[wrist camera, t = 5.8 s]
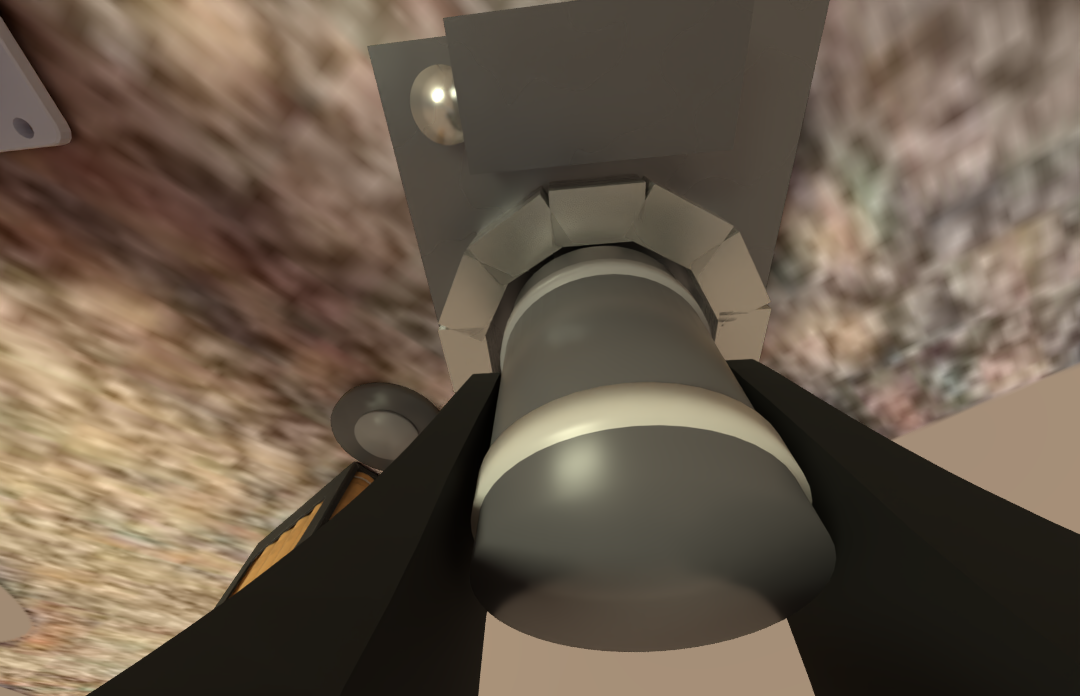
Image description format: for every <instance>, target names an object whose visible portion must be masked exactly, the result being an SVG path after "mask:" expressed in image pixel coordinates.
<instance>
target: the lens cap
mask: <svg viewBox="0 0 1080 696" xmlns="http://www.w3.org/2000/svg"><path fill="white" fill-rule="evenodd" d="M438 413H439V411H438V409H437V408H436V407H435V406H434V405H433V404H432V403H431V402H430V401H429V400H427V399H426V398H425V397H423V396H422V395H420V394H419V393H417V392H415V391H413V390H411V389H408V388H406V387H403V386H399V385H395V384H390V383H367V384H363V385H360V386H357V387H354V388H353V389H351V390H349V391H348V392H347V393H345V394H344V395H343V396H342V398H341V399H340V400H339V401H338V403H337V404H336V406H335V407H334V409H333V412H332V415H331V427H332V431H333V434H334V436H335V438H336V440H337V441H338V443H339V444H340V445H341V447H342V448H343V449H344V450H345V451H346V452H347V453H349V454H350V455H351V456H352V457H354V458H355V459H356V460H358V461H360V462H362V463H363V464H365V465H368V466H370V467H372V468H375V469H378V470H382V471H384V470H385V469H386V468H387V467H388V466H389V465H390V464H391V463H392V462H393V461H394V460H395V459H396V458H397V457H398V456H399V455H400V454H401V453H402V452H403V451H404V450H405V449H406V448H407V447H408V446H409V445H410V444H411V443H412V442H413V441H414V440H415V438H416V437H417V436H418V435H419V434H420V433H421V432H422V431H423V430H424V429H425V427H426V426H427V425H428V424H429V423H430V422H431V421H432V420H433V419H434V418H435V416H436V415H437V414H438Z"/></svg>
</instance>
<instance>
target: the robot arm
mask: <svg viewBox="0 0 1080 696" xmlns="http://www.w3.org/2000/svg"><path fill="white" fill-rule="evenodd" d="M30 126H31V127H32V129H33V130H32V129H31V127H30ZM71 139H72V136H71V130H70V128H69V126H68V124H67V122H66V120H65V119H64V117H63V116H62V114H61V112H60V111H59V109H58V108H57V106H56V104H55V103H54V101H53V100H52V98H51V96H50V95H49V93H48V92H47V90H46V88H45V87H44V85H43V84H42V82H41V80H40V79H39V77H38V76H37V74H36V72H35V71H34V69H33V68H32V66H31V64H30V63H29V61H28V59H27V58H26V56H25V55H24V53H23V51H22V50H21V48H20V47H19V45H18V43H17V42H16V40H15V39H14V37H13V35H12V34H11V32H10V31H9V29H8V27H7V26H6V24H5V23H4V21H3V19H2V18H1V16H0V152H7V151H16V150H24V149H33V148H42V147H51V146H60V145H66V144H68V143H70V141H71ZM725 361H726V362H727V364H728V366H729V367H730V369H731V371H732V372H733V374H734V376H735V377H736V379H737V381H738V382H739V384H740V386H741V387H742V389H743V391H744V392H745V394H746V396H747V397H748V399H749V401H750V403H751V404H752V406H753V408H754V409H755V411H756V412H758V413H759V414H760V415H761V416H762V417H764V418H765V419H766V420H767V421H768V422H769V423H770V424H771V425H772V426H773V428H774V429H775V430H776V431H777V433H778V434H779V435H780V437H781V438H782V440H783V442H784V443H785V445H786V446H787V448H788V450H789V451H790V453H791V454H792V456H793V458H794V459H795V461H796V462H797V464H798V466H799V467H800V469H801V470H802V472H803V474H804V476H805V478H806V480H807V482H808V484H809V486H810V491H811V496H812V506H813V508H814V509H815V511H816V513H817V515H818V516H819V518H820V520H821V521H822V523H823V525H824V526H825V528H826V530H827V531H828V533H829V535H830V537H831V539H832V541H833V543H834V545H835V552H836V563H835V569H834V572H833V574H832V576H831V578H830V580H829V582H828V583H827V585H826V586H825V587H824V589H823V590H822V591H821V593H819V594H818V595H817V596H816V597H815V598H814V599H813V600H812V601H811V602H810V603H809V604H807V605H806V606H804V607H803V608H802V609H800V610H799V611H798V612H796V613H794V614H792V615H791V616H789V617H787V620H788V623H789V625H790V628H791V631H792V634H793V636H794V639H795V642H796V644H797V647H798V650H799V653H800V655H801V658H802V660H803V663H804V666H805V668H806V672H807V674H808V677H809V680H810V682H811V685H812V688H813V691H814V694H815V696H1080V534H1078V533H1075V532H1073V531H1071V530H1069V529H1066V528H1064V527H1062V526H1060V525H1058V524H1055V523H1053V522H1051V521H1049V520H1047V519H1045V518H1042V517H1040V516H1038V515H1036V514H1034V513H1032V512H1030V511H1028V510H1026V509H1024V508H1022V507H1020V506H1017V505H1015V504H1013V503H1011V502H1009V501H1007V500H1005V499H1003V498H1001V497H999V496H997V495H995V494H993V493H991V492H989V491H986V490H984V489H982V488H980V487H978V486H976V485H974V484H972V483H970V482H968V481H966V480H964V479H962V478H960V477H958V476H956V475H954V474H952V473H950V472H948V471H946V470H945V469H943V468H941V467H939V466H937V465H935V464H933V463H931V462H930V461H928V460H926V459H924V458H922V457H921V456H919V455H917V454H915V453H913V452H911V451H909V450H908V449H906V448H904V447H902V446H900V445H898V444H897V443H895V442H893V441H891V440H889V439H888V438H886V437H884V436H882V435H881V434H879V433H877V432H875V431H874V430H872V429H870V428H868V427H867V426H865V425H863V424H861V423H860V422H858V421H856V420H855V419H853V418H851V417H850V416H848V415H846V414H844V413H843V412H841V411H839V410H838V409H836V408H834V407H833V406H831V405H829V404H828V403H826V402H825V401H823V400H821V399H820V398H818V397H816V396H815V395H813V394H811V393H810V392H808V391H807V390H805V389H803V388H802V387H800V386H798V385H797V384H795V383H793V382H792V381H790V380H789V379H787V378H785V377H784V376H782V375H780V374H779V373H777V372H775V371H774V370H772V369H770V368H769V367H767V366H765V365H763V364H761V363H760V362H758V361H756V360H754V359H740V360H725ZM500 382H501V372H499V373H480V374H472V375H471V376H470V377H469V379H468V380H467V381H466V382H465V383H464V384H463V385H462V386H461V388H460V389H459V390H458V391H457V392H456V393H455V394H454V396H453V397H452V398H451V399H450V400H449V401H448V403H447V404H446V405H445V406H444V407H443V408H442V410H441V411H440V412H439V413H438V414H437V415H436V416H435V418H434V419H433V420H432V421H431V422H430V423H429V424H428V425H427V426H426V427H425V429H424V430H423V431H422V432H421V433H420V434H419V435H418V436H417V437H416V438H415V440H414V441H413V442H412V443H411V444H410V445H409V446H408V447H407V448H406V449H405V450H404V451H403V452H402V453H401V454H400V455H399V456H398V457H397V458H396V459H395V460H394V461H393V462H392V463H391V464H390V465H389V466H388V467H387V468H386V469H385V470H384V471H383V472H382V473H381V474H380V475H379V476H378V477H377V478H376V479H375V480H374V481H373V482H372V483H371V484H370V485H369V486H368V487H367V488H365V489H364V490H363V491H362V492H361V493H360V494H359V495H358V496H357V497H356V498H354V499H353V500H352V501H351V502H350V503H349V504H348V505H346V506H345V507H344V508H343V509H342V510H341V511H339V512H338V513H337V514H336V515H335V516H334V517H332V518H331V519H330V520H329V521H328V522H327V523H325V524H324V525H323V526H322V527H321V528H320V529H318V530H317V531H316V532H315V533H314V534H312V535H311V536H310V537H309V538H307V539H306V540H305V541H303V542H302V543H301V544H300V545H298V546H297V547H296V548H294V549H293V550H292V551H290V552H289V553H288V554H287V555H285V556H284V557H283V558H281V559H280V560H279V561H278V562H276V563H275V564H274V565H272V566H271V567H270V568H268V569H267V570H266V571H265V572H263V573H262V574H261V575H259V576H258V577H257V578H255V579H254V580H253V581H252V582H250V583H249V584H248V585H246V586H245V587H244V588H242V589H241V590H240V591H238V592H237V593H236V594H234V595H233V596H232V597H230V598H229V599H227V600H226V601H225V602H223V603H222V604H220V605H219V606H218V607H216V608H215V609H213V610H212V611H211V612H209V613H208V614H206V615H205V616H203V617H202V618H201V619H199V620H198V621H196V622H195V623H194V624H192V625H191V626H189V627H188V628H186V629H185V630H184V631H182V632H181V633H179V634H178V635H176V636H175V637H173V638H172V639H170V640H169V641H167V642H166V643H164V644H163V645H162V646H160V647H159V648H157V649H156V650H154V651H153V652H151V653H150V654H148V655H147V656H145V657H144V658H142V659H141V660H140V661H138V662H137V663H135V664H134V665H132V666H131V667H129V668H128V669H126V670H125V671H123V672H121V673H120V674H118V675H117V676H115V677H114V678H112V679H111V680H109V681H108V682H106V683H105V684H103V685H102V686H100V687H99V688H97V689H96V690H94V691H92V692H91V693H89V694H88V695H86V696H478V692H479V681H480V671H481V661H482V651H483V641H484V632H485V622H486V614H487V610H486V609H485V608H484V607H483V606H482V605H481V604H480V603H479V601H478V600H477V598H476V597H475V595H474V593H473V590H472V588H471V585H470V577H469V572H470V566H471V560H472V553H473V547H474V541H475V540H474V537H473V534H472V530H471V514H472V508H473V502H474V497H475V491H476V486H477V480H478V474H479V470H480V467H481V464H482V462H483V459H484V457H485V455H486V453H487V452H488V450H489V449H490V443H491V437H492V431H493V425H494V419H495V413H496V407H497V401H498V394H499V388H500Z"/></svg>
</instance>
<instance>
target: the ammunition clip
mask: <svg viewBox="0 0 1080 696" xmlns="http://www.w3.org/2000/svg"><path fill="white" fill-rule="evenodd" d="M377 477H378V476H377V475H376V474H374V473H372V472H371V471H369V470H367V469H366V468H364V467H363V466H361V465H359V464H358V463H355V462H353V463H352V464H351V465H349V466H348V467H347V468H346V469H345V470H344V471H342V472H341V473H340V474H339V475H338V476H337V477H335V478H334V479H333V480H332V481H331V482H330V483H328V484H327V485H326V486H325V487H324V488H323V489H321V490H320V491H319V492H318V493H317V494H316V495H314V496H313V497H312V498H311V499H310V500H309V501H307V502H306V503H305V504H304V505H303V506H302V507H300V508H299V509H298V510H297V511H296V512H295V513H293V514H292V515H291V516H290V517H289V518H288V519H286V520H285V521H284V522H283V523H282V524H281V525H279V526H278V527H277V528H276V529H275V530H274V531H272V532H271V533H270V534H269V535H268V536H266V537H265V538H264V539H263V540H262V541H261V542H259V543H258V545H257V546H256V548H255V549H254V551H253V552H252V554H251V555H250V556H249V558H248V559H247V561H246V562H245V564H244V565H243V567H242V568H241V570H240V571H239V573H238V574H237V576H236V577H235V579H234V580H233V582H232V583H231V584H230V586H229V587H228V589H227V590H226V592H225V593H224V595H223V596H222V598H221V599H220V601H219V602H218V604H217V605H216V607H218V606H219V605H220V604H222V603H223V602H225V601H226V600H227V599H229V598H230V597H232V596H233V595H234V594H236V593H237V592H238V591H240V590H241V589H242V588H244V587H245V586H246V585H248V584H249V583H250V582H252V581H253V580H254V579H255V578H257V577H258V576H259V575H261V574H262V573H263V572H265V571H266V570H267V569H268V568H270V567H271V566H272V565H274V564H275V563H276V562H278V561H279V560H280V559H281V558H283V557H284V556H285V555H287V554H288V553H289V552H290V551H292V550H293V549H294V548H296V547H297V546H298V545H300V544H301V543H302V542H303V541H305V540H306V539H307V538H309V537H310V536H311V535H312V534H314V533H315V532H316V531H317V530H318V529H320V528H321V527H322V526H323V525H324V524H325V523H327V522H328V521H329V520H330V519H331V518H332V517H334V516H335V515H336V514H337V513H338V512H339V511H341V510H342V509H343V508H344V507H345V506H346V505H348V504H349V503H350V502H351V501H352V500H353V499H354V498H356V497H357V496H358V495H359V494H360V493H361V492H362V491H363V490H364V489H365V488H367V487H368V486H369V485H370V484H371V483H372V482H373V481H374V480H375V479H376V478H377ZM216 607H215V608H216ZM215 608H214V609H215Z"/></svg>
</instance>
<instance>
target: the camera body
mask: <svg viewBox="0 0 1080 696" xmlns="http://www.w3.org/2000/svg"><path fill="white" fill-rule="evenodd" d="M829 1H830V0H577V1H569V2H561V3H554V4H546V5H538V6H531V7H523V8H516V9H508V10H500V11H493V12H485V13H477V14H470V15H462V16H455V17H447V18H443V21H444V27H445V32H446V36H442V37H434V38H427V39H419V40H411V41H403V42H395V43H387V44H379V45H372V46H367V47H368V51H369V55H370V59H371V63H372V67H373V71H374V75H375V79H376V82H377V86H378V90H379V94H380V98H381V102H382V106H383V110H384V114H385V117H386V121H387V125H388V129H389V133H390V137H391V141H392V145H393V149H394V153H395V156H396V160H397V164H398V168H399V172H400V176H401V180H402V184H403V188H404V191H405V195H406V199H407V203H408V207H409V211H410V215H411V219H412V223H413V227H414V230H415V234H416V238H417V242H418V246H419V250H420V254H421V258H422V262H423V265H424V269H425V273H426V277H427V281H428V285H429V289H430V293H431V297H432V301H433V304H434V308H435V312H436V316H437V320H438V324H439V329H438V333H439V337H440V341H441V345H442V348H443V352H444V356H445V360H446V364H447V368H448V371H449V375H450V379H451V383H452V387H453V391H454V392H457V391H458V390H459V389H460V388H461V386H462V385H463V384H464V383H465V382H466V381H467V380H468V379H469V377H470V376H471V375H472V374H480V373H499V372H501V376H502V371H501V366H500V354H501V348H502V342H503V336H504V331H505V328H506V324H507V321H508V319H509V317H510V315H511V313H512V310H513V307H514V304H515V301H516V299H517V297H518V295H519V293H520V291H521V289H522V288H523V286H524V285H525V284H526V282H527V281H528V280H529V279H530V278H531V277H532V276H533V275H534V273H536V272H537V271H538V270H539V269H540V268H542V267H543V266H544V265H545V264H547V263H549V262H550V261H552V260H553V259H555V258H557V257H559V256H562V255H564V254H566V253H569V252H572V251H575V250H578V249H582V248H588V247H594V246H617V247H623V248H628V249H633V250H636V251H638V252H641V253H644V254H646V255H648V256H650V257H652V258H654V259H655V260H657V261H658V262H660V263H661V264H662V265H664V266H665V267H666V268H667V269H668V270H669V271H670V272H671V273H672V274H673V275H674V277H675V278H676V279H677V280H678V281H679V282H680V283H681V284H682V285H683V286H684V287H685V288H686V289H687V290H688V291H689V292H690V294H691V295H692V296H693V298H694V299H695V301H696V302H697V304H698V305H699V307H700V309H701V310H702V312H703V314H704V316H705V318H706V320H707V322H708V325H709V328H710V331H711V337H712V339H713V341H714V342H715V344H716V346H717V347H718V349H719V351H720V352H721V354H722V356H723V357H724V359H725V360H740V359H754V360H756V361H758V362H759V359H760V355H761V351H762V347H763V342H764V338H765V334H766V330H767V325H768V321H769V317H770V313H771V308H770V307H769V306H768V305H767V304H768V303H770V302H771V301H770V299H769V297H768V294H767V292H766V286H767V282H768V277H769V273H770V268H771V263H772V259H773V254H774V250H775V245H776V241H777V236H778V232H779V227H780V223H781V218H782V214H783V209H784V205H785V200H786V196H787V191H788V186H789V182H790V177H791V173H792V168H793V164H794V159H795V155H796V150H797V146H798V141H799V137H800V132H801V128H802V123H803V119H804V114H805V110H806V105H807V100H808V96H809V91H810V87H811V82H812V78H813V73H814V69H815V64H816V60H817V55H818V51H819V46H820V42H821V37H822V33H823V28H824V23H825V19H826V14H827V10H828V5H829Z"/></svg>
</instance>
